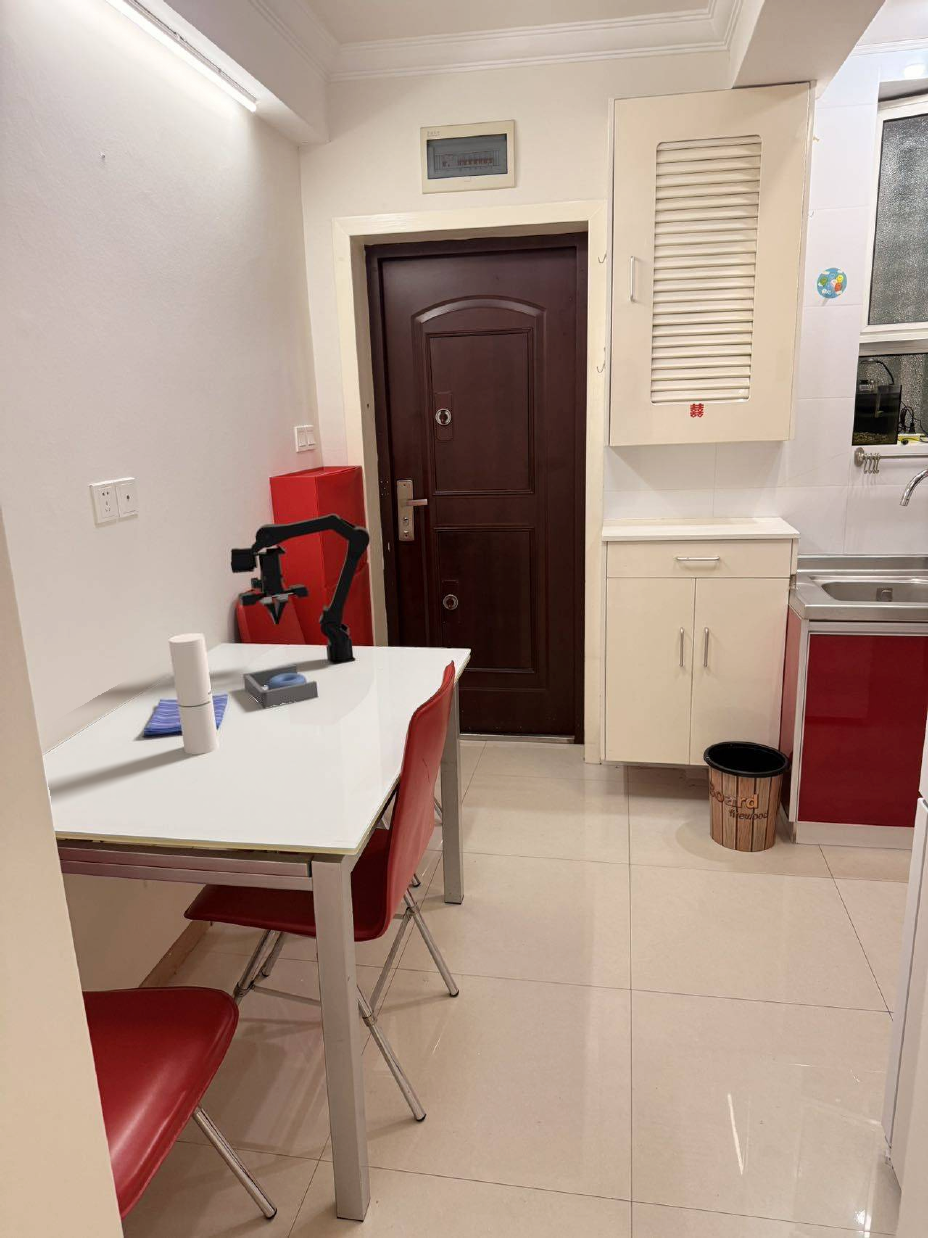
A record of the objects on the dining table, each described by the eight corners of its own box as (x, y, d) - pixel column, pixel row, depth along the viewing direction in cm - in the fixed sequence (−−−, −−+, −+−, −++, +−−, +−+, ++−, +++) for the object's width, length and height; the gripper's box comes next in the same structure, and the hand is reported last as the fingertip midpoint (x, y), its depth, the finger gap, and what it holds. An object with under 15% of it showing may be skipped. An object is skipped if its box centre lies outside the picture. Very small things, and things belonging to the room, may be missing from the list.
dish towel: (141, 741, 191) (139, 730, 191) (159, 706, 214) (157, 696, 213) (219, 733, 194) (218, 721, 193) (228, 699, 217) (227, 689, 216)
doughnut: (267, 686, 223) (266, 670, 221) (305, 683, 225) (304, 667, 224) (269, 702, 214) (268, 685, 212) (309, 698, 216) (308, 682, 215)
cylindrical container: (223, 741, 187) (209, 632, 181) (211, 754, 181) (195, 642, 174) (192, 741, 188) (177, 633, 182) (179, 754, 181) (162, 642, 175)
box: (296, 678, 229) (295, 664, 228) (318, 697, 213) (316, 682, 212) (245, 688, 223) (243, 674, 222) (263, 708, 207) (261, 693, 206)
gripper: (294, 562, 246) (300, 614, 250) (230, 570, 238) (237, 624, 242) (306, 567, 236) (312, 621, 240) (239, 576, 228) (246, 632, 232)
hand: (276, 624), depth 239 cm, fingers closed
